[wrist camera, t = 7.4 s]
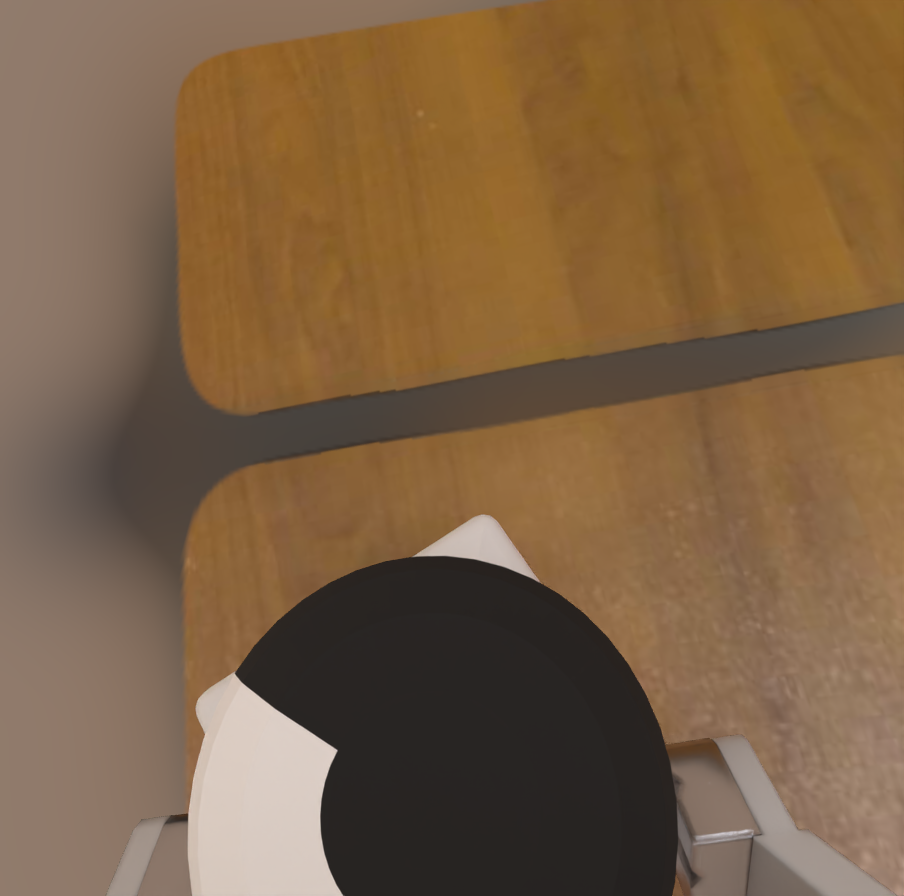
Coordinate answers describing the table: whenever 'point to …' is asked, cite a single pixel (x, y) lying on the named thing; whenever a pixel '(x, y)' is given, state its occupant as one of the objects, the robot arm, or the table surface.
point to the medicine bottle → (433, 743)
